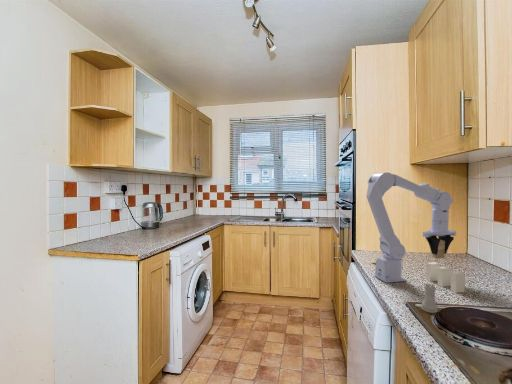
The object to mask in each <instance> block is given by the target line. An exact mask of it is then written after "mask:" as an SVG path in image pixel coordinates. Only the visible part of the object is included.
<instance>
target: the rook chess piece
mask: <svg viewBox="0 0 512 384" xmlns="http://www.w3.org/2000/svg"><path fill="white" fill-rule="evenodd" d="M423 288H424V290H425V291H424V299H423V301H422V302H421V306H420V307H421V309H422V311H424V312H426V313H429V314H436V313H437V312H438V311H439V310H438V308H439V307H438V305H437V303H436V299H435V295H436V293H435V292H436V290H437V289H436V286H435V285H434V284H430V283H425V285H424V286H423Z"/></svg>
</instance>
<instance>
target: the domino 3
mask: <svg viewBox="0 0 512 384" xmlns="http://www.w3.org/2000/svg"><path fill="white" fill-rule="evenodd" d="M451 272H452V267H450V266H447V265H446V266H439V267H438V281H437V286H440V287H441V288H443V287H445V288H446V287H451Z"/></svg>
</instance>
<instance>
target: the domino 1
mask: <svg viewBox="0 0 512 384" xmlns="http://www.w3.org/2000/svg"><path fill="white" fill-rule="evenodd" d="M431 254H432V253H431ZM445 255H446V254H445V241H443V240H440V242H439V246H438V253H437V255H435V254H432V255H431V256H432V258H433V259H445V258H446V256H445Z"/></svg>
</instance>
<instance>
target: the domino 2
mask: <svg viewBox="0 0 512 384" xmlns="http://www.w3.org/2000/svg"><path fill="white" fill-rule="evenodd" d="M425 267H426V277H425V279H426V281H428V282H438V267H440V263H438V262H436V261H433V262H426V266H425Z"/></svg>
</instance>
